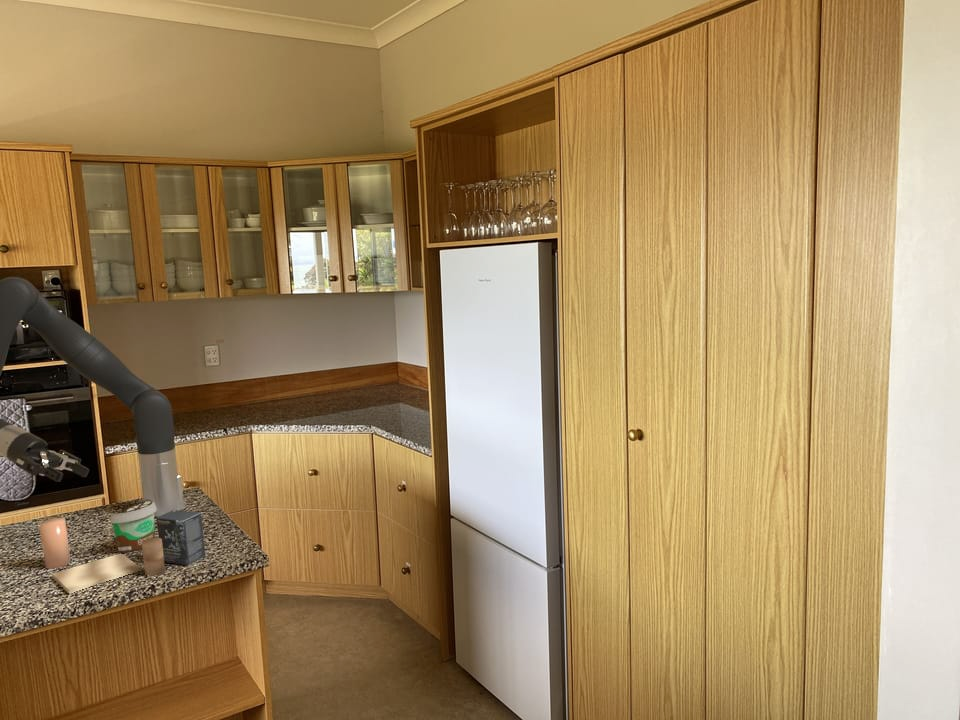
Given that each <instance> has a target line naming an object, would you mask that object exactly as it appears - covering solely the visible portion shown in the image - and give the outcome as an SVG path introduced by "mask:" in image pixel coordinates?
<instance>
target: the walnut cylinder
mask: <svg viewBox="0 0 960 720" xmlns="http://www.w3.org/2000/svg"><path fill="white" fill-rule="evenodd" d="M141 544H142V550H141V551H142V559H143V560H142V561H143V566H144V575H145V576H146V575H149V576H148V577H156V576H159V575H162V574H164V573H165V572H166V565H165V563H166V562H164V554H163V546H162V539H161V538H159V537H155V538H151V539H147V540H145V541H143V542H142V543H141ZM155 575H156V576H155Z"/></svg>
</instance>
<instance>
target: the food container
mask: <svg viewBox="0 0 960 720" xmlns="http://www.w3.org/2000/svg"><path fill="white" fill-rule="evenodd" d="M156 510H157V508H156V505H155V503H154V502H153V500H152V499H149V498H143V497H142V502H140V503H138V504H136V505H133V506H129V507H127V508H126V509H125V510H123V511H122V512H121V513H111V514H110V520H109V521H110V524H112V526H113V530H114V531H113V532H114V536H115V541H116V546H117V551H118V554H119V553H126V554H128V553H127V552H133V553H135V552H134V551H138V552H140V551H139V550H141V551H142V544H141V543H142V542H143V541H145V540H147V539H151V538H156V537H155V536H156V535H155V517H154V512H156Z"/></svg>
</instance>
